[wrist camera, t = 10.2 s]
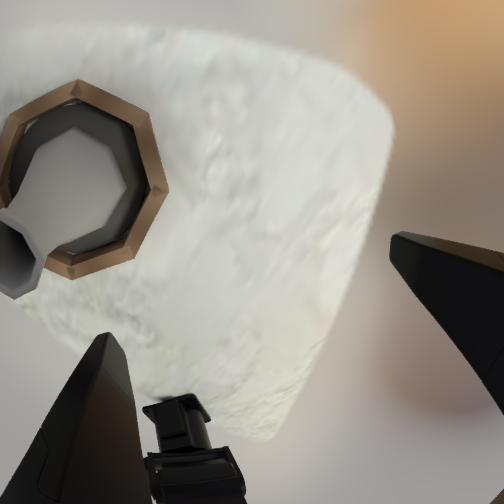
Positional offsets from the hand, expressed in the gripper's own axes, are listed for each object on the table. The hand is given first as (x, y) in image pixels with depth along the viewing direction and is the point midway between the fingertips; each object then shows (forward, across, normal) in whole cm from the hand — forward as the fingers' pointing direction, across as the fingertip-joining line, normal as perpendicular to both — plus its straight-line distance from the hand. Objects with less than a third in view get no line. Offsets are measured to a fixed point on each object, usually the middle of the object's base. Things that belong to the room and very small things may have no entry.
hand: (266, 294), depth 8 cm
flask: (+12, +8, -3) cm, 15 cm away
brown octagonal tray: (+12, +8, -3) cm, 15 cm away
